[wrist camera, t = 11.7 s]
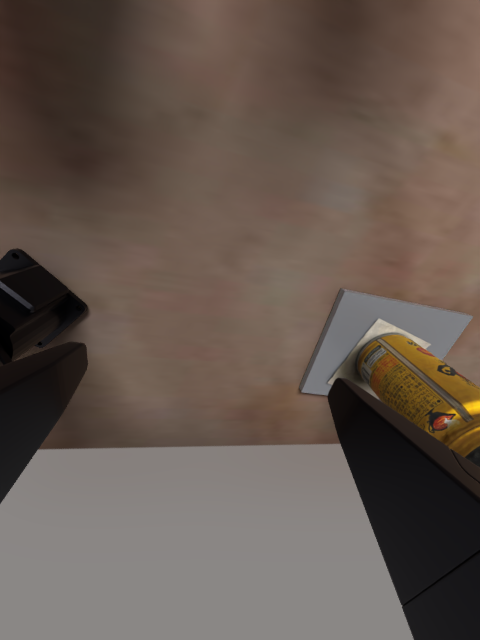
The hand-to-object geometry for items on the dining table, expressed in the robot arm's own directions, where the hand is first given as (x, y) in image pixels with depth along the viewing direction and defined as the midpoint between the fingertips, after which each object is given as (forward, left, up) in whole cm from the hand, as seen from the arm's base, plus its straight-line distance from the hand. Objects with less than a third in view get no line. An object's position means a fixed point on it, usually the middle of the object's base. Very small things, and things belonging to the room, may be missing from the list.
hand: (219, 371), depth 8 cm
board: (+8, -17, -13) cm, 23 cm away
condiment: (+7, -17, -12) cm, 22 cm away
